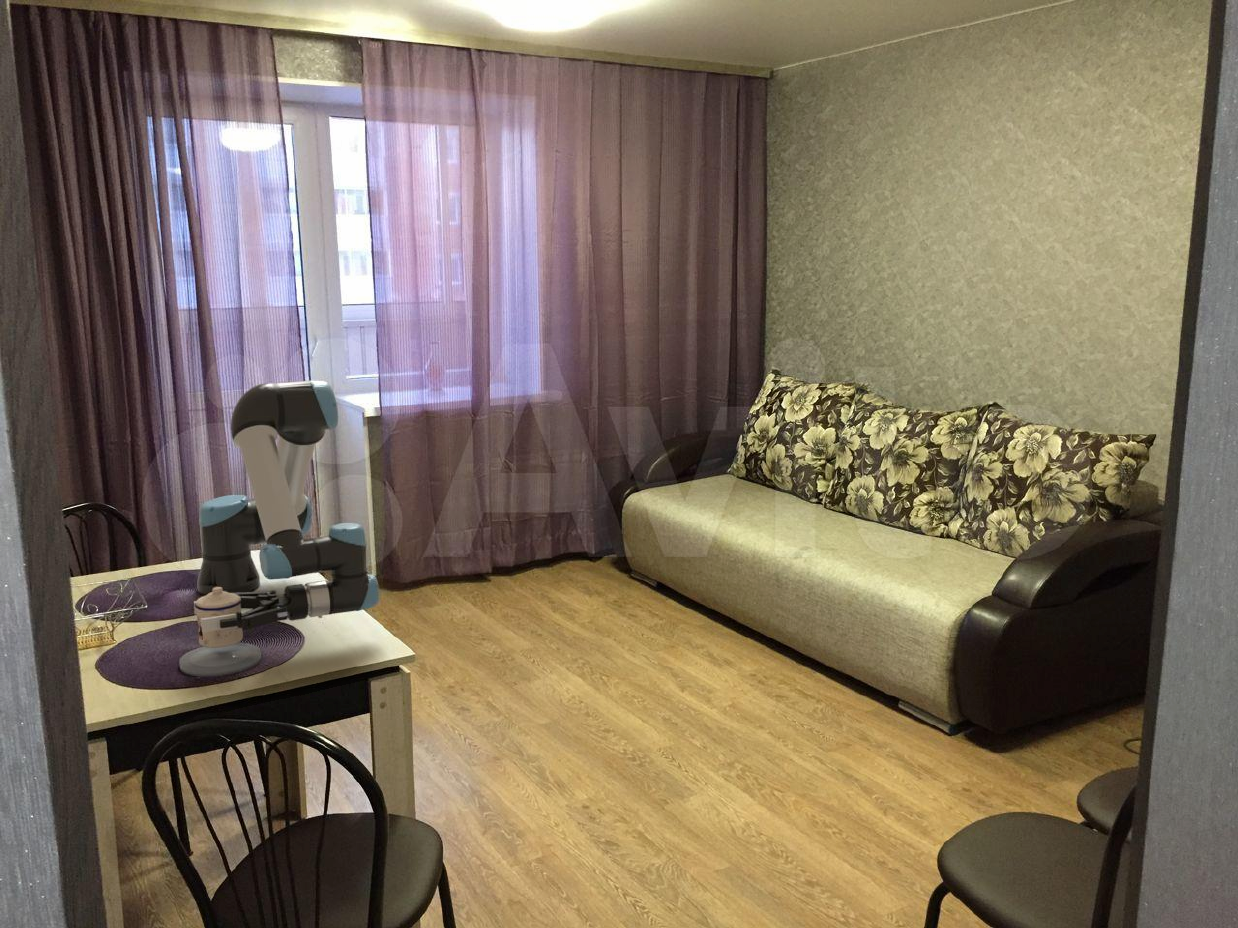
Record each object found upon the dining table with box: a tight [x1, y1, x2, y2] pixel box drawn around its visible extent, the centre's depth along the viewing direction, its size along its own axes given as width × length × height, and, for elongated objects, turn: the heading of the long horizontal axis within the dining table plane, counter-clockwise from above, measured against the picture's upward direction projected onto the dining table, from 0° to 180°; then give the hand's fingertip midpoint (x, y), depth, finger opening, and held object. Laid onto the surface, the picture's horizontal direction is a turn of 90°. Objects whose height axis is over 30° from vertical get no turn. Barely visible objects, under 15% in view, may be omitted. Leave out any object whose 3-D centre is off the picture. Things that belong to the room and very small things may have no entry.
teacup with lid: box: [195, 587, 244, 648], centre depth 214 cm, size 12×9×12 cm
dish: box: [178, 642, 262, 678], centre depth 216 cm, size 16×16×1 cm
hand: (197, 616), depth 212 cm, fingers closed on teacup with lid, 11 cm apart
